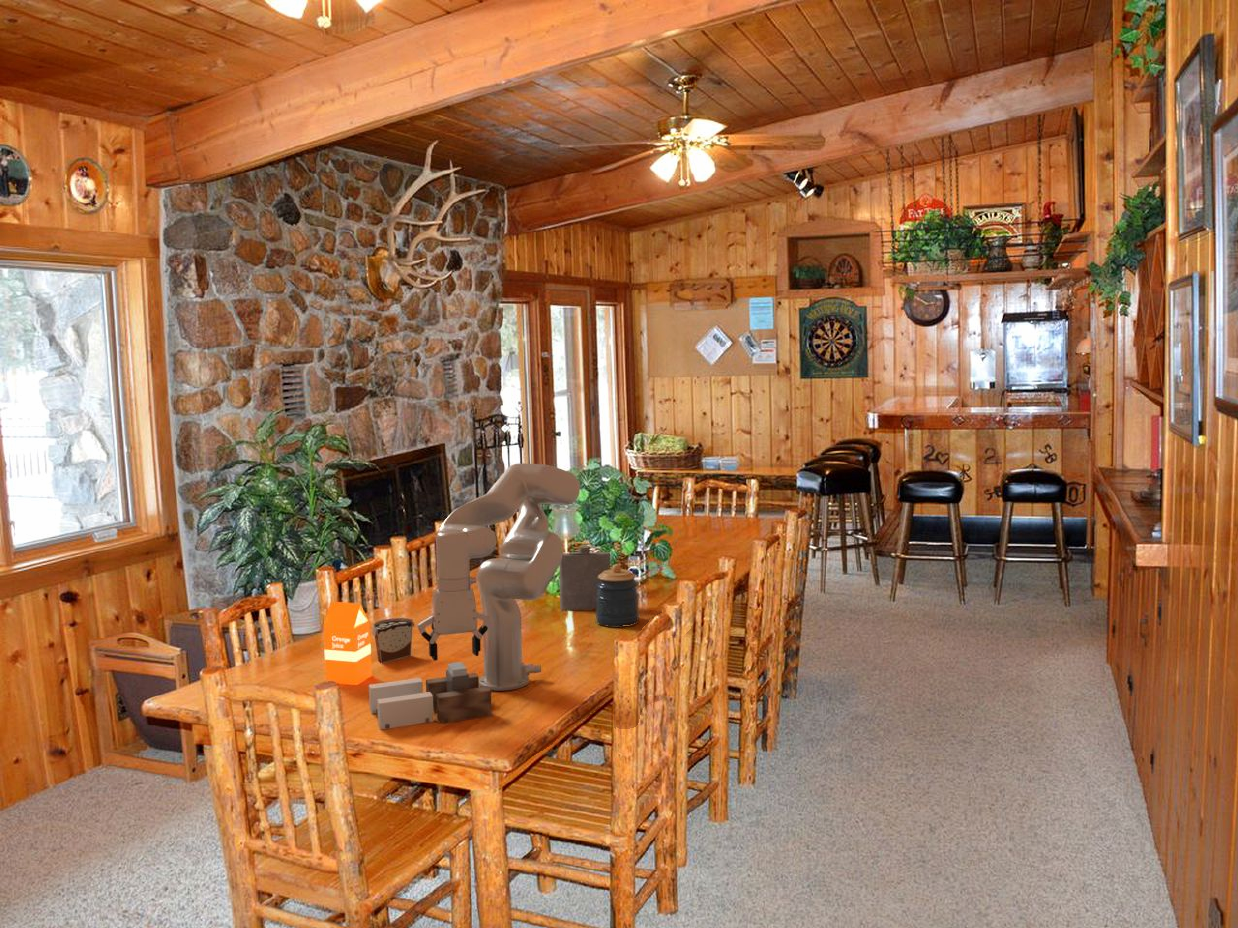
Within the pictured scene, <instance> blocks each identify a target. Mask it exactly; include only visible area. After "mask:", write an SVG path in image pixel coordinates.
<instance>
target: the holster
mask: <svg viewBox="0 0 1238 928" xmlns="http://www.w3.org/2000/svg"><path fill="white" fill-rule="evenodd" d="M467 674H468V675H469V688H470V689H467V690H460V691H453V692H447V687H446V676H442V677H437V678H428V679H425V693H426V692H430V693H431V694H432V695H433V709H434V708H435V709H434V710H435V712H436V719H437V721H438V723H439V724H448V723H453V722H460V721H466V720H473V718H474V719H478V718H485V717H484V716H487V717H492V716H493V715H492V714H493V712H492V710H493V709H492V690H490V689H489V688H488V687H480V686H479V678H480V677H479V676H478V675H477V673H476V672H473V673H471V672H470V673H467ZM491 715H492V716H491Z"/></svg>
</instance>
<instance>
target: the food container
mask: <svg viewBox="0 0 1238 928" xmlns="http://www.w3.org/2000/svg"><path fill="white" fill-rule="evenodd" d="M413 627H415V622H414V620H413V619H412V618H407V617H393V618H386V619H382V620H378V621H376V622H374V624H373V626H372V629H371V635H372V636H374V640H375V645H376V646H375V648H376V656H377V661H379V662H380V663H379V662H378V663H379V664H381V663H382V664H386V663H389V662H388V661H390V662H393V660H394V661H397V660H396V659H398V660H401V659H406V658H409V657H411V656H412V647H413V646H412V644H413V642H412V641H413ZM408 656H409V657H408ZM385 662H386V663H385Z"/></svg>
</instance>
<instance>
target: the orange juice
mask: <svg viewBox="0 0 1238 928" xmlns="http://www.w3.org/2000/svg"><path fill="white" fill-rule="evenodd" d="M370 627H371V626H370V620H369V619H368V617H367V615H366V612H365V610H364V609H363V607H362V605H361V603H360V602H359V603H357V602H343V601H329V605H328V609H327V613H326V616H325V620H324V623H323V641H324V643H323V644H324V662H325V663H324V664H325V681H326V683H328V682H327V681H334V682H336V683H335V684H342V685H352V686H353V685H355V686H358V685H360V684H361V683H363V682H365V681H366V680H367V679H369V678H371V677H372V676H373V675H372V674H373V673H372V671H373V670H372V646H371V634H370V633H371V630H370V629H371V628H370Z"/></svg>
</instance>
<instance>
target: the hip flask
mask: <svg viewBox="0 0 1238 928" xmlns="http://www.w3.org/2000/svg"><path fill="white" fill-rule="evenodd" d="M578 550H579V551H575V552H573V551H572V552H567V553H566V552H563V556H562V560H561V562H560V565H559V567H558V568H559V596H560V597H559V601H560V602H559V603H560V605H559V606H560V607H559V608H560V610H561V611H591V610H592V609H595V610H596V596H595V595H596V593H597V587H596V586H595V583H596V582H597V581H599V578H598V575H599V574H601V573H602V572H603V571H605V570H610V569H611V553H610V551H600V552H599V551H597V552H591V551H590V550H591V545H580V546H578ZM592 611H593V610H592Z"/></svg>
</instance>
